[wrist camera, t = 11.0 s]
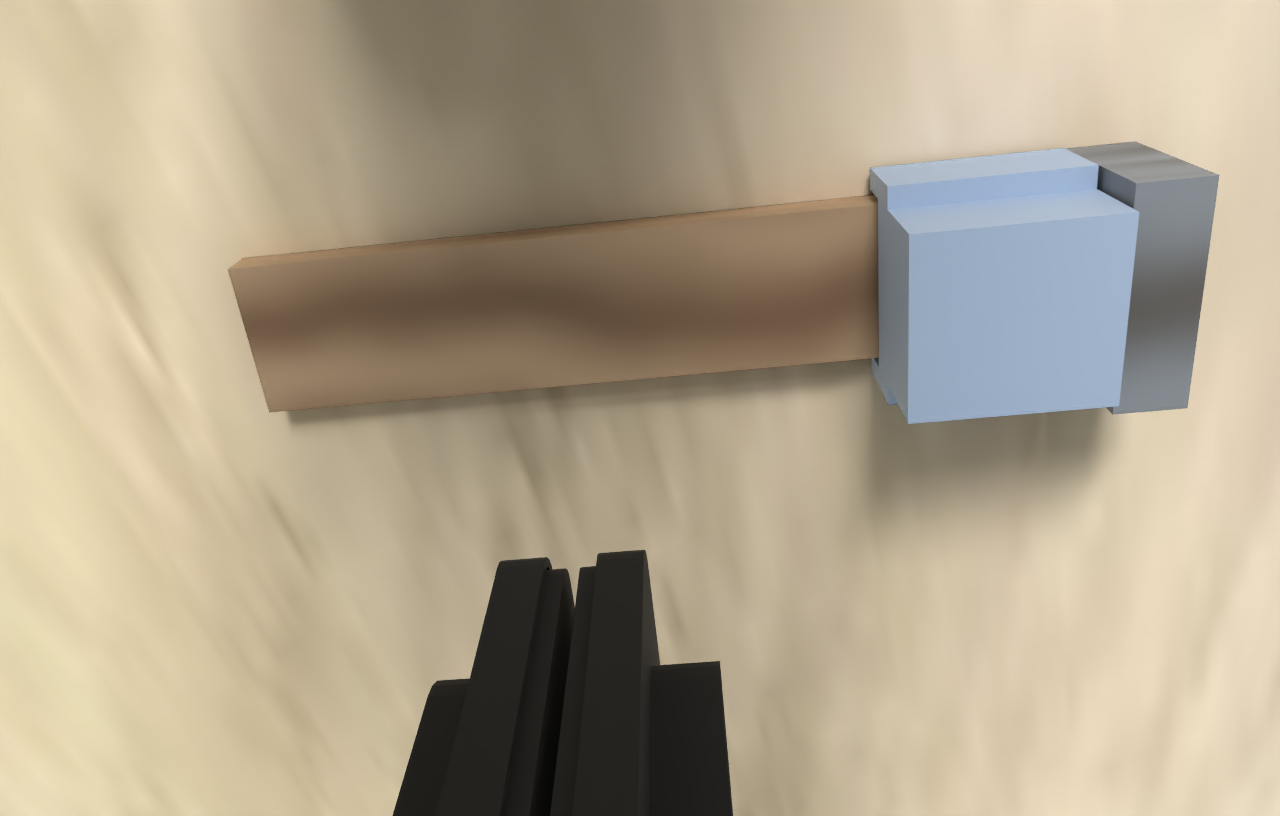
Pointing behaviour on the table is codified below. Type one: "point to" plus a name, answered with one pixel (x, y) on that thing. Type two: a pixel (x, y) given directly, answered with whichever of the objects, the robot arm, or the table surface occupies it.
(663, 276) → the rail
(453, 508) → the table surface
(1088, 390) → the block
